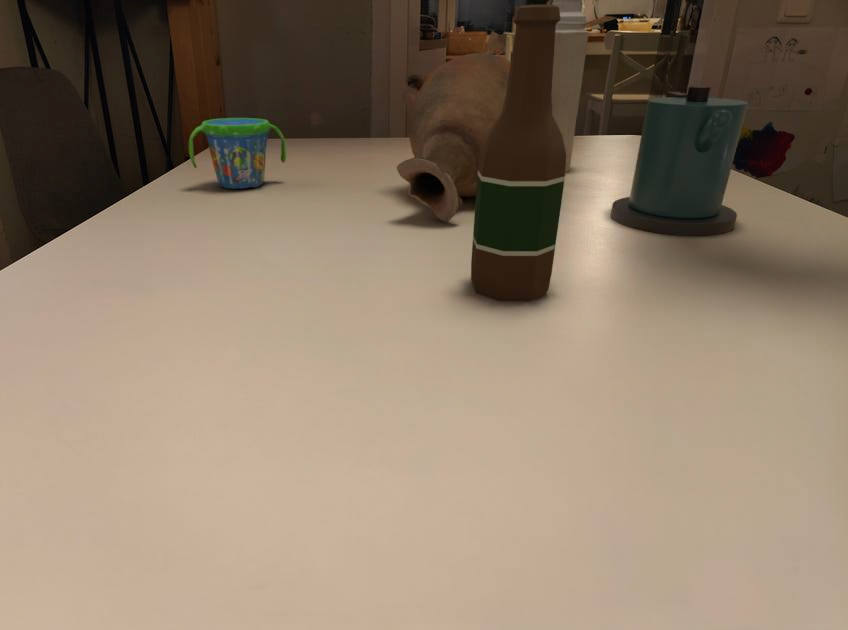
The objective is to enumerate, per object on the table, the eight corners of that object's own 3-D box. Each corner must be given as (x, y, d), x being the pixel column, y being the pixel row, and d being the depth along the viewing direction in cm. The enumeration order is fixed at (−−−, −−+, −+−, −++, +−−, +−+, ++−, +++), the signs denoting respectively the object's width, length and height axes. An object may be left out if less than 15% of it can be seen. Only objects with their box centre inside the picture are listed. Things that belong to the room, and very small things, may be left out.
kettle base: (709, 207, 87) (712, 196, 87) (753, 237, 74) (757, 225, 74) (600, 204, 89) (602, 194, 88) (624, 233, 76) (626, 221, 75)
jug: (453, 175, 109) (372, 248, 88) (429, 56, 99) (331, 108, 79) (569, 161, 97) (507, 241, 77) (554, 25, 88) (479, 76, 68)
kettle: (611, 188, 91) (630, 80, 84) (689, 190, 90) (715, 80, 83) (649, 226, 73) (676, 93, 66) (747, 229, 72) (786, 93, 65)
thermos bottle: (515, 168, 113) (533, -8, 100) (542, 163, 118) (562, -6, 105) (552, 175, 108) (575, -10, 95) (578, 169, 112) (604, -9, 99)
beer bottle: (555, 281, 62) (594, 5, 50) (540, 308, 55) (581, 1, 44) (480, 270, 65) (501, 8, 53) (458, 296, 58) (476, 4, 47)
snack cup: (285, 176, 109) (280, 115, 104) (292, 189, 100) (288, 122, 95) (194, 181, 106) (185, 118, 101) (193, 195, 97) (184, 126, 92)
